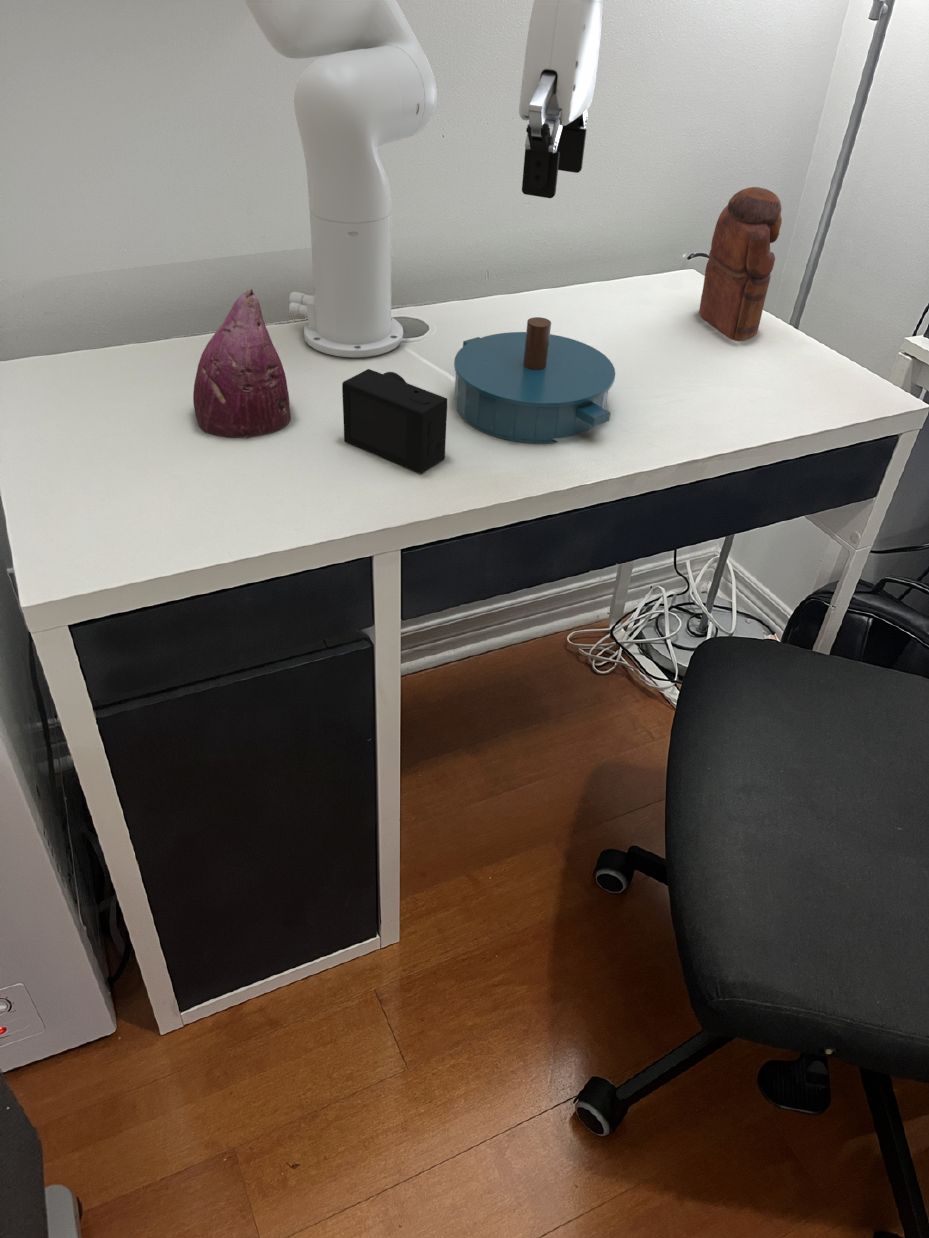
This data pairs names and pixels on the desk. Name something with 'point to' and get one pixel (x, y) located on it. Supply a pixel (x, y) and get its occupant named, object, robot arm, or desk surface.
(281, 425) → the vegetable
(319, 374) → the desk surface
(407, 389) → the digital camera
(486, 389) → the tin lid
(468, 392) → the tin
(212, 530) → the desk surface
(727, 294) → the wooden figurine
